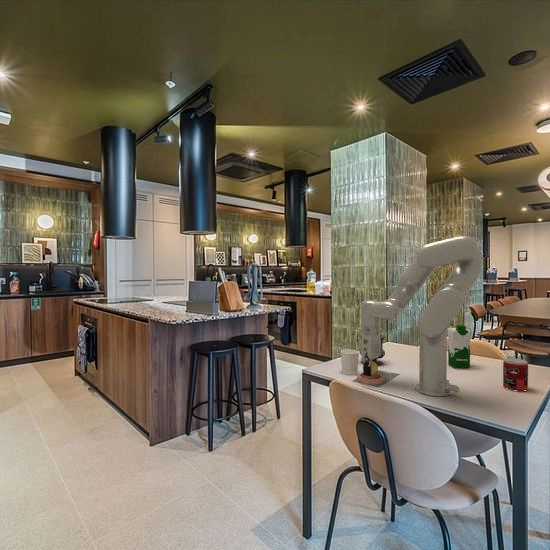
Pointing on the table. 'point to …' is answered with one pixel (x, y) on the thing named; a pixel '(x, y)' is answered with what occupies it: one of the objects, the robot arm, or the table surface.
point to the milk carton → (459, 347)
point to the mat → (383, 381)
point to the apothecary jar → (381, 347)
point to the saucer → (370, 379)
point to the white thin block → (385, 374)
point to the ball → (373, 368)
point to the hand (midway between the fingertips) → (370, 373)
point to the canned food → (515, 374)
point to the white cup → (349, 361)
